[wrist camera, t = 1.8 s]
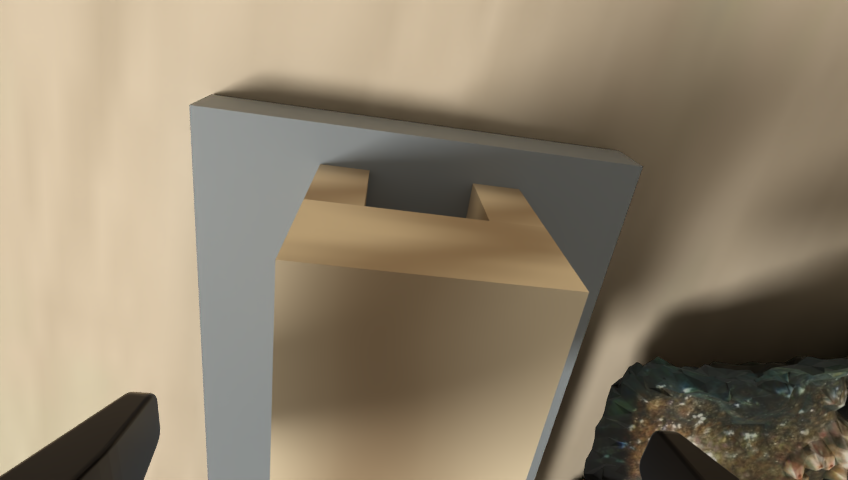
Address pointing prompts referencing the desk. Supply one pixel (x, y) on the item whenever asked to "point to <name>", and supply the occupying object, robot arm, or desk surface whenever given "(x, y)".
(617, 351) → the desk surface
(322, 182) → the block
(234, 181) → the pin plate
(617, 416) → the decorative rock
